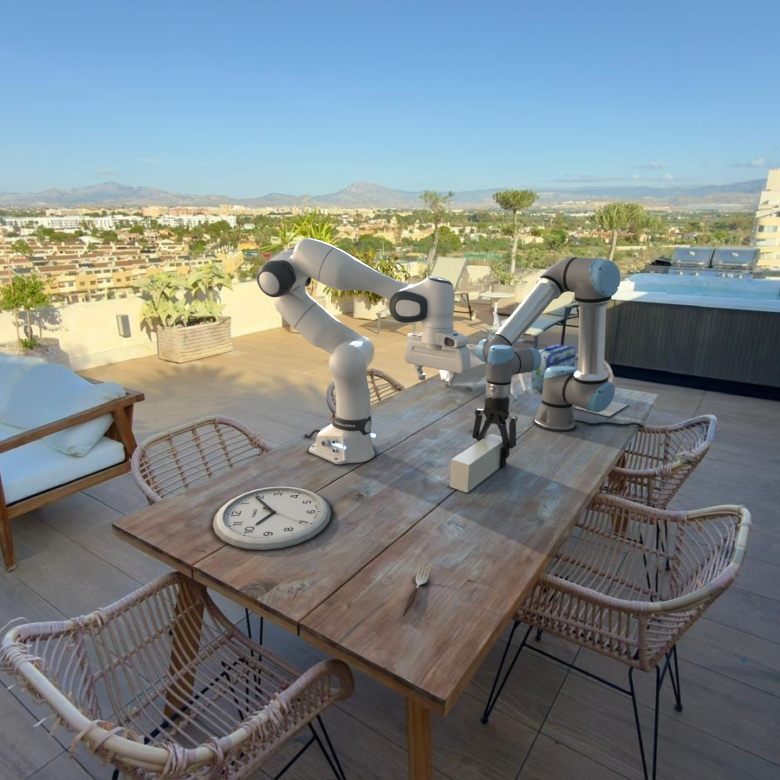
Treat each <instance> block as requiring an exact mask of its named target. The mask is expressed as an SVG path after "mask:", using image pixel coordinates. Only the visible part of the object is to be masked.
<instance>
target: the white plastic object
mask: <svg viewBox="0 0 780 780" xmlns="http://www.w3.org/2000/svg"><path fill="white" fill-rule="evenodd" d="M492 315H493V319H494V321H495V324H496V325H495V326H496V328H497V331H498V330H499V329H500V328H501V327H502V326H503V324H502V321H501V318H500V315H499V314H498V312H497V311H496V310H495V311H492ZM466 346H467V347H468V348H469V351H470V368H469V370H468V371H467V372H465V373H463V374H460V373H457V375H456V377H455V378H454V380H453V385H458V384H467V383H468V384H469V383H473V384H477V383H480V382H482V381H484V378H485V377H487V365H488V363H486V362H484V361H481V360H480V359H479V358H478V357H477V355H476V348H477V345H473V346H469V345H468V344H467V345H466ZM438 370H439V371H438V372H439V376H440V381H442V383H443V384H444V385H445V384H446V380H447V379H449V378H450V376H451V375H449V371H445V370H440V369H438ZM517 376H518V380H519V382H520V385H521V389H522V391H523V393H524V395H525V396H526V397H528V396H531V395H530V390H529V388H528V387H529V386H528V384H527V381H526V378H525V375H524V373H521V374H517ZM516 391H517V390H516V388H515V385H514V381H513V378H512V379H511V390H510V395H512V397H513V398H514V399H515V400H517V392H516Z"/></svg>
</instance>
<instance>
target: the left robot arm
mask: <svg viewBox="0 0 780 780" xmlns="http://www.w3.org/2000/svg"><path fill="white" fill-rule="evenodd" d="M312 279H313V280H315V281H316V282H318V283H320V284H321V285H322V284H323V285H324V286H326V287H328V288H331V289H335V290H338V291H343V292H344V291H345V292H346V291H366V292H370V293H373V294H375V295H377V296H380V297H382V298H385V299H387V300H389V302H388V310H389V314H390V315H391V317H392V318H393V320H395V321H397V322H398V323H400V324H411V323H418V322H421V332H415V331H412V332H409V333H408V334H407V335H406V345H405V352H404V361H405V363H406V364H409V365H410V364H411V365H414V369H415V372H416V373H417V379H418V381H425V380H426V373H425V372H424V371H423V367H425V368H430V369H435V370H445V371H449V375H451V376H450V378H449V379H447V380H446V384H444V385H445V386H446V387H453V386H454V384H453V380H454V378H455V377H456V375H457V373H460V374H463V373H465V372H467V371H468V370H469V368H470V351H469V348H468V347H467V346H466V345H468V344H469V343H470V338H469V337H468V336H467V335H464V334H463V333H461V332H459V331H457V330H456V329H454V319H453V317H454V313H455V306H456V305H455V304H456V302H455V300H456V299H455V297H456V294H455V286H454V284H453V283H452V282H451V281H450V280H449V279H446V278H443V277H439V276H427V277H426V278H425V279H424V280H422V281H420V282H419V283H406V282H403V281H400V280H398V279H396V278H394V277H391V276H389V275H387V274H385V273H383V272H380V271H378V270H376V269H373V268H372V267H370V266H369V265H367V264H365V263H363V262H362V261H360V260H359V259H358V258H356V257H354V256H352V255H351V254H349V253H347V252H345V251H344V250H342V249H340V248H339V247H336V246H335V245H332V244H329V243H327V242H324V241H322V240H319V239H314V238H311V237H305V238H303V239H301V240H299V241H298V242H297V243H296V245H295V246H293V247H290V248H288V249H287V250H284V251H282V252H279V253H278V254H275V256H274V257H273V258H271V259H270V260H269V261H266V262H264V264H262V265H261V266H260V268H259V269H258V270H257V273H256V282H257V286H258V287H259V289H260V291H261V292H262V293H263V294H264V295H266V296H267V297H270V298H274V308H275V309H276V311H277V312H278V314H279V315H280V316H281V317H282V318H283V320H285V321H286V322H287V324H288V325H289V326H290V327H292V328H293V329H294V330H295V331H296V332H297V333H298V334H299V335H300V336H302V338H304V339H305V340H306V341H307V342H308V343H310V345H312V346H314V347H315V348H319V349H321V350H323V351H325V352H327V353H329V354H330V357H329V360H328V367H329V368H328V369H329V371H330V373H331V375H332V380H333V384H334V389H335V410H336V411H335V412H334V413H333V414H332V415H330V416H329V420H331V423H329V424H328V425H325V426H322V427H319V428H317V429H314V430H313V431H311V433H310V434H306V433H305V434H304V437H305V438H308V439H309V438H311V437H313V435H314V434H315V433H317V434H316V439H315V442H314V443H313V444H311V445H310V447H309V448H308V452H309V453H311V454H313V455H315V456H316V457H319V458H322V459H324V460H326V461H328V462H330V463H333V464H335V465H345V464H357V463H359V464H360V463H363V462H367V461H370V460H371V459H373V458H374V457H375V455H376V452H375V449H374V446H373V440H372V438H376V433H372V413H371V390H370V388H369V381H368V376H367V373H368V371H367V370H368V367H369V366H370V365H371V363H372V362H373V360H374V357H375V346H374V344H373V342H372V341H371V339H370V338H369V337H366V336H364V335H362V334H360V333H359V332H358V331H356V330H354V329H353V328H351V327H349V326H348V325H346V324H344V323H343V322H341V320H339V319H338V318H336V317H335V316H333V315H332V314H331V313H330V312H329V311H328V310H327V309H326V308H324V307H323V306H322V305H321V304H320V303H319V302H318V301H316V300H315V299H314V298H313V297H312V296H311V295H309V293H308V292H307V289H306V287H308V286H310V285H311V283H312Z"/></svg>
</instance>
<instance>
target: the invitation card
mask: <svg viewBox="0 0 780 780" xmlns="http://www.w3.org/2000/svg"><path fill="white" fill-rule="evenodd" d="M628 406H629V404H627V403H623V402H618V401H614V400H612V401H611V403H610V404H609V406H608V407H607V408H606V409H605V410H603V411H601V412H594V411H588V410H587V409H584V408H581V407H578V406H574V407H573V409H575V410H581V411H584V412H587V413H593V414H596V415H600V416H604V417H608V418H609V417H611V416H613V415H614V414H616V413H617V412H619V411H621V410H623V409H624V408H626V407H628Z"/></svg>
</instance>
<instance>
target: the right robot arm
mask: <svg viewBox="0 0 780 780" xmlns="http://www.w3.org/2000/svg"><path fill="white" fill-rule="evenodd" d="M620 284H621V272H620V268H619V267H618V265H617V264H616V263H615V262H614V261H613V260H610V259H605V258H601V257H598V258H597V257H578V256H569V257H566V258H563V259H561V260H559V261H557V262H556V263H554V264H552V265H551V266H550V267H548V269H546V270H545V271H544V272H543V273H542V274H541V275H540V276H539V278H538V279H537V280H536V283H535V286H534V288H533V289H532V290H531V291H530V293H529V294H528V295H527V296H526V297H525V299H523V301H522V302H521V303H520V304H519V305H518V306H517V308H516V309H515V310H514V311H513V313H511V315H510V316H509V317H508V319H507V320H505V322H504V323H503V324H502V327H501V328H500V329H499V330H498V329H497V331H496V332H495V334H494V335H493V336H492V337H491V339H488V338H487V339H485V338H484V339H482V340H480V341H479V342H478V344H477V345H476V346H477V348H476V355H477V357H478V358H479V359H480V360H481V361H484V362H486V363H488V365H487V375H486V382H485V396H484V407H483V408H480V407H479V408H477V409H475V410H474V415H475V419H474V425H473V429H472V435H471V436H472V439H475V440H476V441H477V442H479V441H480V440H482V439H483V438H485V437H486V435H487V433H488V432H489V431H488V430H489V428H490V427H491V424H492V425H493V424H494V425H496V426H497V428H498V429H499V434H500V436H501V438H502V441H503V445H504V447H503V448H501V459H500V468H501V469H503V468H504V467H505V466H506V465H507V459H508V458H509V457H510V453H511V452H510V451H511V449H514V448H515V447H516V446H517V422H518V419H519V418H518V416H513V415H511V414H510V412H509V408H510V401H511V400H510V399H511V397H510V396H511V392H510V390H511V379H512V380H513V376H516V375H518V374H521V373H523V374H525V373H532V371H534V370H537V369H538V368H539V367H540V365H541V362H542V361H541V360H542V358H541V354H540V352H539V350H538V349H537V348H535V347H525V348H521V347H517V346H516V345H517V343H518V342H519V341H520V340H521V339H522V338H523V337H524V335H525V334H526V333H527V332H528V330H529V329H530V328H531V327H532V326H533V324H534V323H535V322H536V321H537V320H538V318H539V317H540V316H541V315H542V314H543V313H544V311H545V310H546V309H547V308H548V307H549V305H550V304H551V303H552V302H553V301H554V300H558V299H559V298H560V297H561V295H563V294H564V293H567V292H570V293H574V302H575V303H577V304H578V352H577V353H578V354H577V355H578V356H577V357H578V358H577V361H578V362H577V367H575V366H574V367H570V366H555V367H549V368H547V369H546V370H545V375H544V378H543V379H544V380H543V391H541V402H540V405H539V407H538V410H537V411H536V413H535V417H534V424H535V425H536V426H537V427H539V428H542V429H544V430H549V431H556V432H567V431H572V430H574V429H575V428H576V423H577V424H584V425H586V426H587V425H588V426H600V425H610V426H617V427H628V426H638V427H639V428H641V429H644V428H645V427H644V426H643V424H641V423H638V422H627V423H619V422H612V421H611V422H610V421H599V422H589V421H584V420H578V419H576V418H575V417H576V416H575V413H574V407H576V406H578V407H581V408H584V409H587V410H588V411H594V412H601V411H603V410H605V409H606V408H607V407H608V406H609V404H610V403H611V401H613V399H614V397H615V393H616V387H615V385H614V383H612V382H611V381H609V373H608V371H606V370H605V352H606V351H605V350H606V349H605V348H606V322H607V304H609V302H610V301H612V297H613V296H614V295H615V294H616V293H617V292H618V291H619V287H620V286H621V285H620ZM573 406H574V407H573ZM588 411H587V412H588ZM483 416H485V421H484V422H483ZM507 420H508V423H509V424H508V428H507ZM482 422H483V425H482ZM481 427H482V428H481Z"/></svg>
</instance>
